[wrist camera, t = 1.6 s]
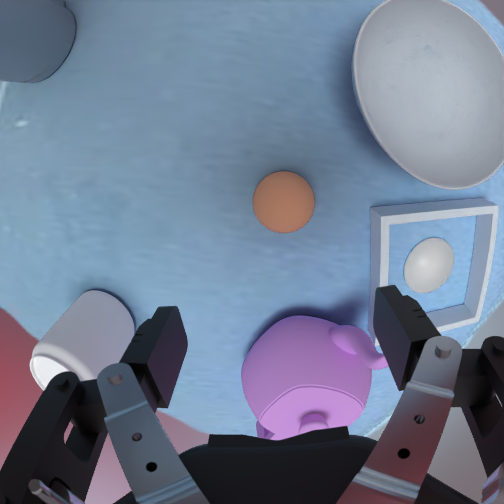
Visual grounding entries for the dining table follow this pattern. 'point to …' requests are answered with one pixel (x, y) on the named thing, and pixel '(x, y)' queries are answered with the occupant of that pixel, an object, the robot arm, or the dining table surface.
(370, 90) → the chinaware
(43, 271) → the dining table surface
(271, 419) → the teapot
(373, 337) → the grey square frame
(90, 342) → the beverage can
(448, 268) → the disc
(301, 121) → the dining table surface
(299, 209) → the ball
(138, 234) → the dining table surface
